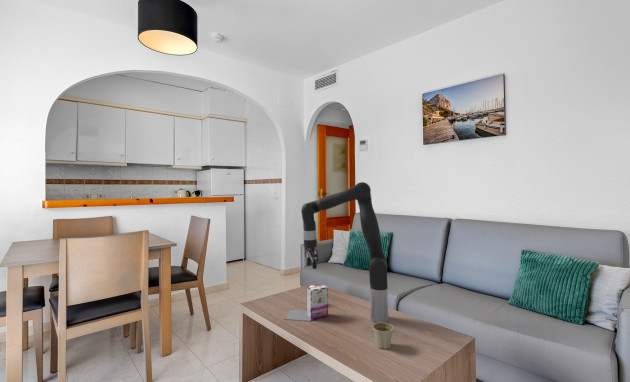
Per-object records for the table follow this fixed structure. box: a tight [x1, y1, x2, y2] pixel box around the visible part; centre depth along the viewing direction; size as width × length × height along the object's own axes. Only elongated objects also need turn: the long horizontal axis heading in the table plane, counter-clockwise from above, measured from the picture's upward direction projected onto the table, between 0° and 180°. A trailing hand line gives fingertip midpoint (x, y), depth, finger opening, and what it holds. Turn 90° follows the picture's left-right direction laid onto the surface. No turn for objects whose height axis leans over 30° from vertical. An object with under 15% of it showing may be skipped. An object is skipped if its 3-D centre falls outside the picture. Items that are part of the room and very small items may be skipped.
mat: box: [285, 309, 312, 322], centre depth 178 cm, size 15×13×1 cm
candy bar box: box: [306, 284, 329, 321], centre depth 176 cm, size 11×5×16 cm, turn 119°
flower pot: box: [372, 322, 394, 350], centre depth 143 cm, size 9×9×9 cm
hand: (311, 267), depth 177 cm, fingers open, 8 cm apart
